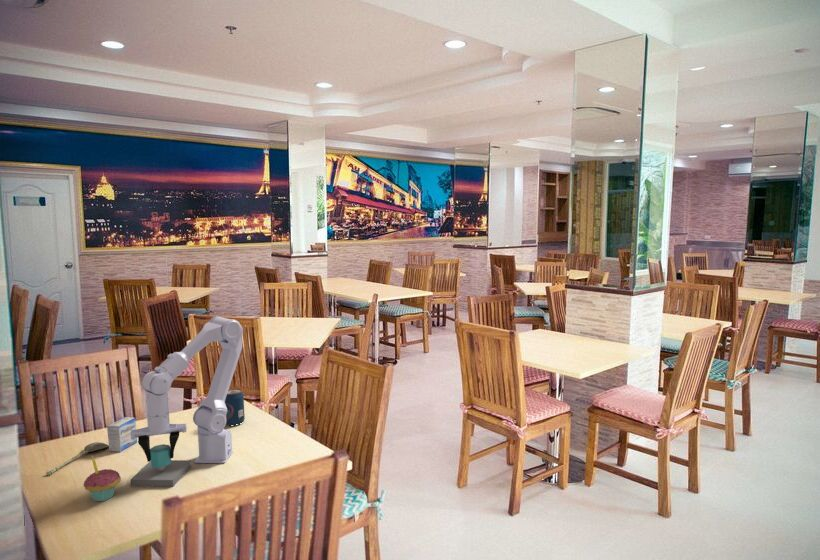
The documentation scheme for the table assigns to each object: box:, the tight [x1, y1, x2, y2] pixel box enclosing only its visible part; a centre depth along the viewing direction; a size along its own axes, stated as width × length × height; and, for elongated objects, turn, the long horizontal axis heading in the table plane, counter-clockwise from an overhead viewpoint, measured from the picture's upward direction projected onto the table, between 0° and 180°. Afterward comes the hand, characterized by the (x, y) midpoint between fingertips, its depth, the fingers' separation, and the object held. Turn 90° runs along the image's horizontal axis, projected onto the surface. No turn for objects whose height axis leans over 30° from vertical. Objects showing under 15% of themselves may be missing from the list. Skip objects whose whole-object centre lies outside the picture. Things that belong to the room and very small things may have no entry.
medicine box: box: [106, 416, 138, 453], centre depth 177 cm, size 8×4×9 cm, turn 168°
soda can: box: [225, 388, 246, 426], centre depth 197 cm, size 7×7×12 cm
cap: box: [149, 444, 172, 468], centre depth 157 cm, size 5×5×4 cm
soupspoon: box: [45, 441, 109, 476], centre depth 169 cm, size 22×3×7 cm
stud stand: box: [129, 459, 192, 488], centre depth 158 cm, size 12×12×6 cm
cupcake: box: [83, 455, 122, 502], centre depth 146 cm, size 9×8×12 cm
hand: (160, 458), depth 157 cm, fingers closed on cap, 5 cm apart
